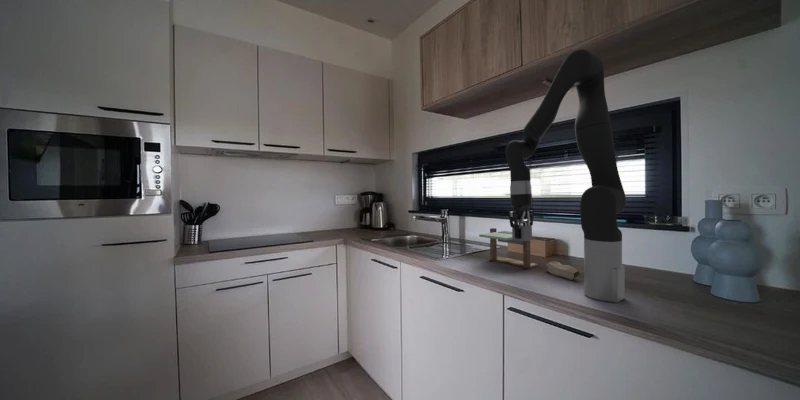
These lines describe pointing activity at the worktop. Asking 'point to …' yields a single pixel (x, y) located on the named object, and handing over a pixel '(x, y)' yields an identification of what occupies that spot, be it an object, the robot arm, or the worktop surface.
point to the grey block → (523, 233)
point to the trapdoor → (502, 237)
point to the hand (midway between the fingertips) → (522, 237)
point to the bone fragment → (562, 270)
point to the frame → (493, 257)
